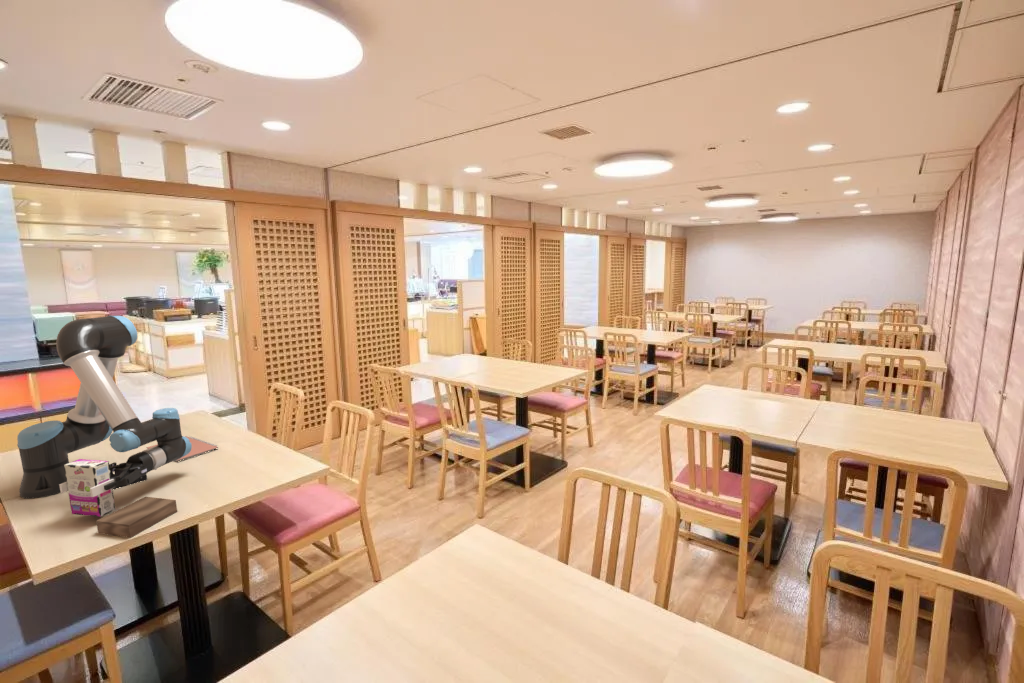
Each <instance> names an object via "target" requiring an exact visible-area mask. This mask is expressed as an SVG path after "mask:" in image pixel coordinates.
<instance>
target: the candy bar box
mask: <svg viewBox="0 0 1024 683" xmlns="http://www.w3.org/2000/svg"><path fill="white" fill-rule="evenodd" d="M109 462H110V461H109V460H99V459H97V460H96V459H83V458H79V459H76V460H73V461H69V463H68V464H65V465H64V467H65V474H66V480H67V487H68V491H67V493H68V499H69V505H70V510H71V515H77V516H85V517H86V516H90V517H99V518H100V517H101V518H103V517H105V516H107V515H109V513H110V514H111V513H113V512H115V511H116V505H115V504H116V502H115V495H114V490H113V488H112V489H110V490H108V491H106V492H103V493H101V494H99V495H97V496H94V497H91V493H90V488H92V487H94V486H97V485H99V484H101V483H104V482H106V481H108V480H111V474H110V467H109V464H110V463H109Z"/></svg>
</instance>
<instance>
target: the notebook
mask: <svg viewBox="0 0 1024 683" xmlns="http://www.w3.org/2000/svg"><path fill="white" fill-rule="evenodd" d="M185 437H187V438H188V439H189V441H190V443H191V444H192V449H191V451H190V453H188V454H187V455H185V456H184V457H182V458H180V459H178V460H175V461H174V462H176V461H180V460H183V459H186V460H188V459H187V458H190V457H193V458H195V457H194V456H196V457H198V456H197V455H199V456H201V455H200V454H202V455H204V454H203V453H205V452H208V451H211V450H214V449H216V448H218V449H219V447H217V446H218V445H217V444H214V443H211V442H208V441H205V440H202V439H199V438H196V437H193V436H190V435H189V436H187V435H185ZM157 445H158V444H157V443H156V444H153V445H151V446H148V447H146V449H149V448H151V447H154V446H157ZM214 451H215V450H214ZM211 452H212V451H211ZM208 453H209V452H208ZM205 454H206V453H205ZM190 459H191V458H190ZM183 461H184V460H183ZM180 462H181V461H180Z"/></svg>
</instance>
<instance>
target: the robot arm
mask: <svg viewBox="0 0 1024 683" xmlns="http://www.w3.org/2000/svg"><path fill="white" fill-rule="evenodd" d="M137 339H138V331H137V328H136V326H135V323H133V322H132V321H131V319H129V318H127V317H125V316H123V315H107V316H99V317H89V318H78V319H74V320H71V321H69V322H67V323H66V324H64V325H63V327H61V329H60V330H59V332H58V334H57V336H56V342H55V344H56V351H57V354H58V357H59V358H60V360H61V362H62V363H63V365H65V367H66V366H67V367H70V368H71V369H72V371H73V372H74V374H75V375H76V378H77V379H78V380H79V382H80V385H79V390H78V392H77V393H78V394H77V398H76V401H75V406H74V408H72V409H70V410H68V413H67V416H66V419H65V420H64V421H62V420H47V421H43V422H39V423H35V424H32V425H29V426H27V427H26V428H25V427H24V428H23V429H22V430H20V432H19V433H18V434H17V439H16V440H17V444H16V446H17V448H18V452H19V456H20V461H21V467H22V472H23V474H22V478H21V481H20V485H19V490H18V491H19V496H20V498H22V497H23V499H38V498H44V497H48V496H52V495H56V494H59V493H61V494H64V493H67V492H68V487H67V480H66V474H65V467H64V465H65V464H68V463H70V460H69V455H68V454H71V453H74V452H76V451H79V450H82V449H85V448H88V447H90V446H91V447H92V446H94V445H98V444H99V443H101V442H104V441H105V440H107V439H108V440H109V442H110V443H109V445H110V447H111V448H112V449H113V450H114V451H115V452H118V453H126V452H130V451H132V450H135V449H138V448H140V447H142V446H144V445H148V444H150V443H152V442H155V441H156V445H157V444H158V445H157V446H154V445H153V446H154V447H151V448H149V449H147V448H145V449H144V450H142V451H139V452H137V453H135V454H134V453H133V454H132V455H130V456H129V457H128V458H127V460H126V462H121V463H118V464H117V462H111V463H109V467H110V474H111V477H115V476H118V477H115V480H116V481H114V479H111V480H108V481H106V482H104V483H101V484H99V485H97V486H94V487H92V488H90V493H91V497H94V496H97V495H99V494H101V493H103V492H106V491H108V490H110V489H112V488H115V487H120V486H121V485H123V487H122V488H124V487H127V486H130V485H129V484H131V483H132V482H133V481H135V480H136V479H138V478H139V477H141V476H143V475H145V474H146V475H147V474H148V473H150V472H151V471H156V470H157V469H158V468H159V469H160V468H161V467H163V466H165V465H167V464H168V465H169V463H172V462H176V461H175V460H178V459H180V458H182V457H184V456H185V455H187V454H188V453H190V451H191V449H192V444H191V443H190V441H189V439H188V438H187V437H188V436H187V437H185V436H186V435H185V436H184V435H183V433H182V429H181V427H182V426H181V419H180V414H179V411H178V409H177V408H175V407H165V408H160V409H157V410H155V411H153V412H152V418H151V419H148V420H145V421H143V422H141V420H140V419H139V417H138V416H137V414H136V413H135V411H134V410H133V408H132V407H131V404H129V402H128V401H127V398H125V396H124V394H123V392H122V391H121V389H120V388H119V386H118V384H116V382H115V381H114V375H115V372H116V369H117V365H118V360H119V359H120V358H122V357H123V356H125V354H126V350H127V347H131V346H132V345H134V344H135V343H136V342H137ZM131 485H132V484H131Z"/></svg>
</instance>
